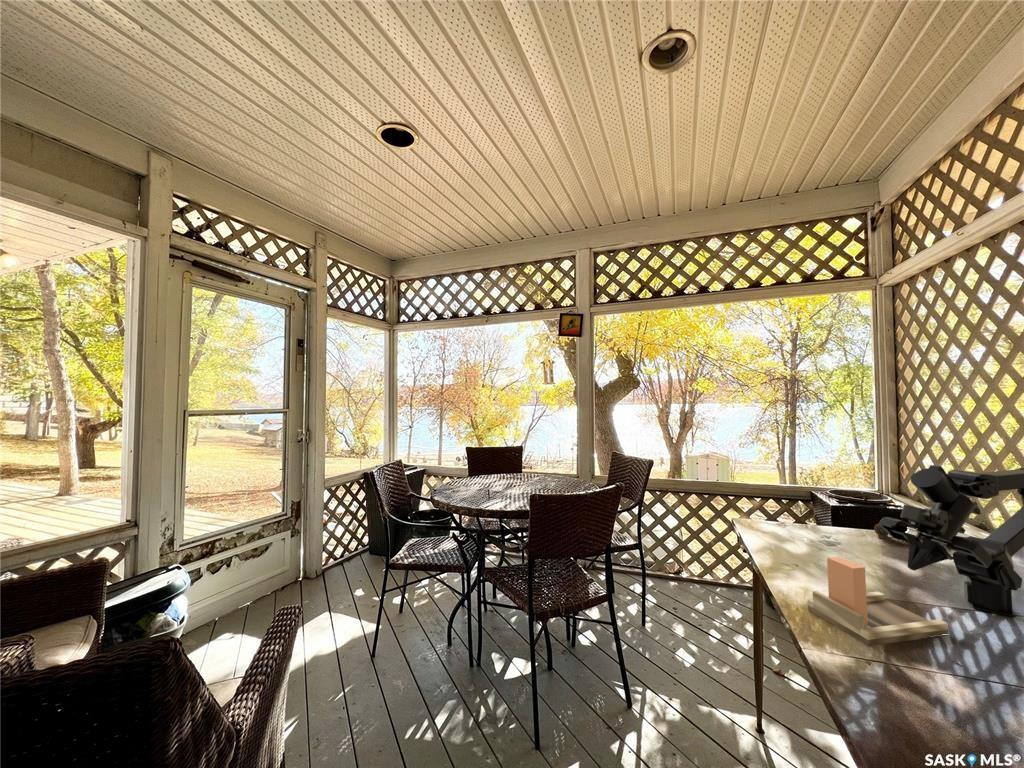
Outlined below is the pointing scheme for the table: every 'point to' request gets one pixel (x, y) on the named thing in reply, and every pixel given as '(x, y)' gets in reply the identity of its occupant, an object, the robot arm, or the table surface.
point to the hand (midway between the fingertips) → (910, 568)
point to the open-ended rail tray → (876, 620)
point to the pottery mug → (883, 533)
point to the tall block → (847, 584)
